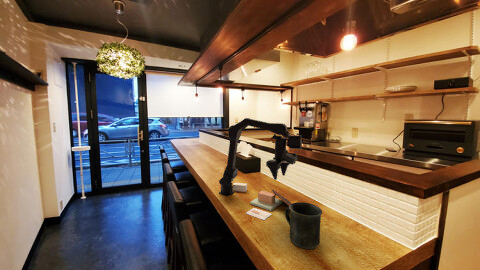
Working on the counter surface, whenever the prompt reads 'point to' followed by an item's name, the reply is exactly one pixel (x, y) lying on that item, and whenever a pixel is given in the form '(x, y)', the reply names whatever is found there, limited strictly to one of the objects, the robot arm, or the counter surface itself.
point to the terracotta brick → (266, 197)
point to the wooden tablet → (282, 198)
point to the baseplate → (266, 204)
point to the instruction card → (258, 213)
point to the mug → (304, 224)
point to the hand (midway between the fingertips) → (279, 177)
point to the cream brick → (240, 187)
